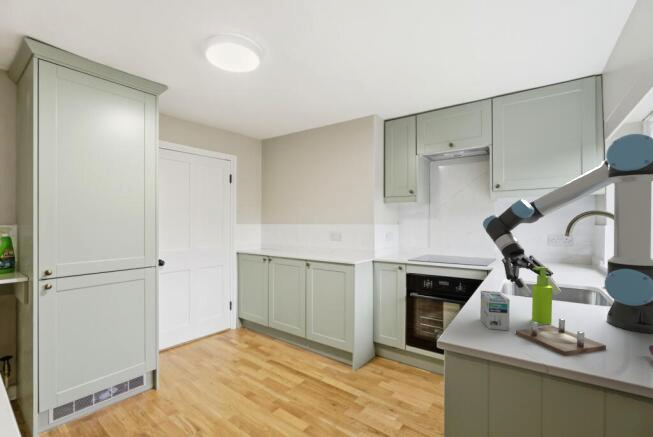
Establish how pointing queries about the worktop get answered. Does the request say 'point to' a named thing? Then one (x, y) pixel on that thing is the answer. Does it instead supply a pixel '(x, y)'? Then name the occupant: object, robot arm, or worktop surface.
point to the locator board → (560, 339)
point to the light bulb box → (495, 310)
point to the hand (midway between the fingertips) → (543, 294)
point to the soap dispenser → (542, 298)
